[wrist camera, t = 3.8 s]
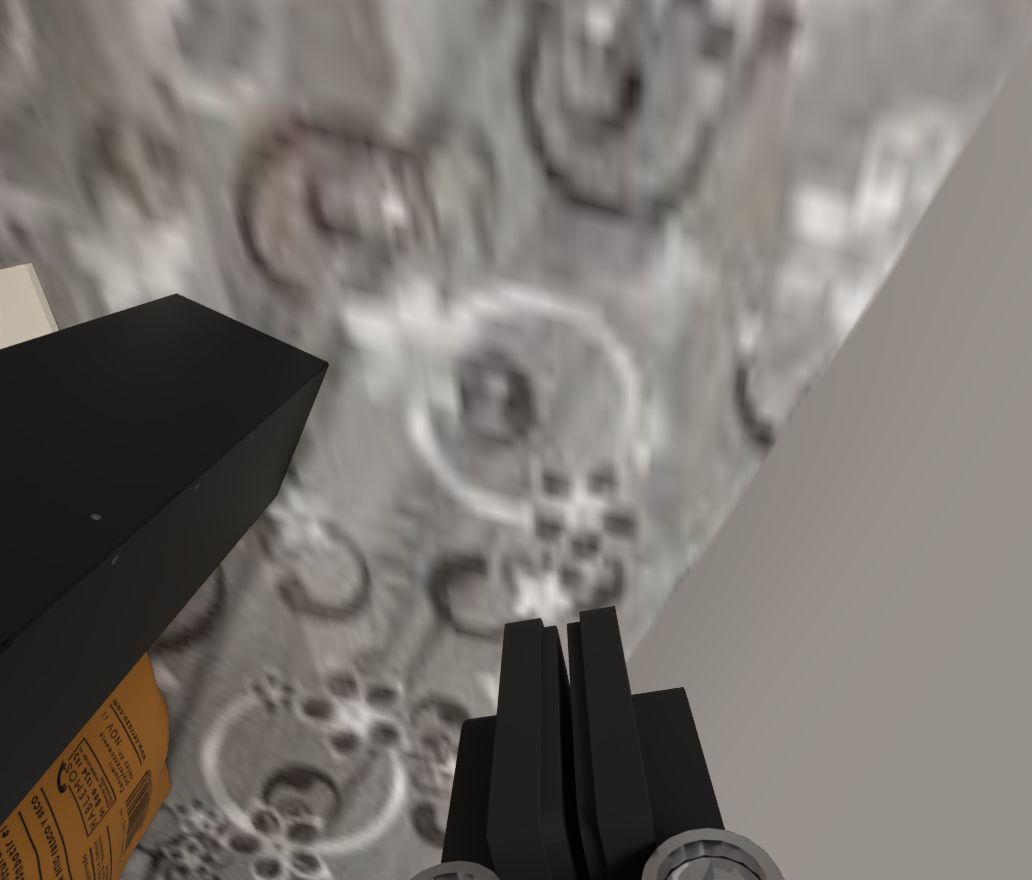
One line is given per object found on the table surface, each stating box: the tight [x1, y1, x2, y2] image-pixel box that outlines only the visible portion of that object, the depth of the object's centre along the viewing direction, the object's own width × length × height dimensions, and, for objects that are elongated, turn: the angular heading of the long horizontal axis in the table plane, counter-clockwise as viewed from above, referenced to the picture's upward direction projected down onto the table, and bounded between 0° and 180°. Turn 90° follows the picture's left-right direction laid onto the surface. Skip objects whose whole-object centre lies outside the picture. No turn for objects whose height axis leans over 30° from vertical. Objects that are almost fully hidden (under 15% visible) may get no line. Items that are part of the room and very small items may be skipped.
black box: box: [0, 294, 329, 827], centre depth 24 cm, size 8×8×28 cm
